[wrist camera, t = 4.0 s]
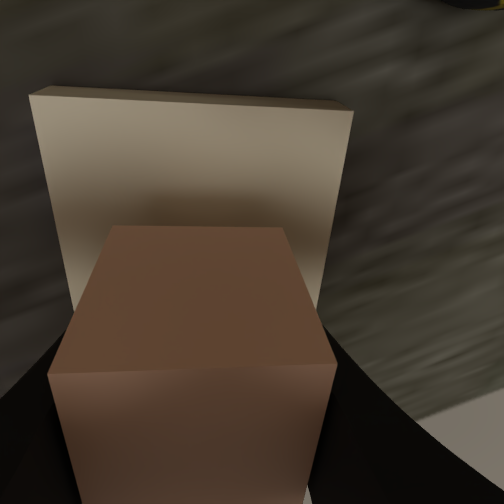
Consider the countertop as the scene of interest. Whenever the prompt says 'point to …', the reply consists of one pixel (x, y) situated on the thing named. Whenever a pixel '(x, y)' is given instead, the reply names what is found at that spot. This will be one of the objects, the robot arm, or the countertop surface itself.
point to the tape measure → (477, 4)
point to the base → (189, 167)
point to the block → (193, 370)
